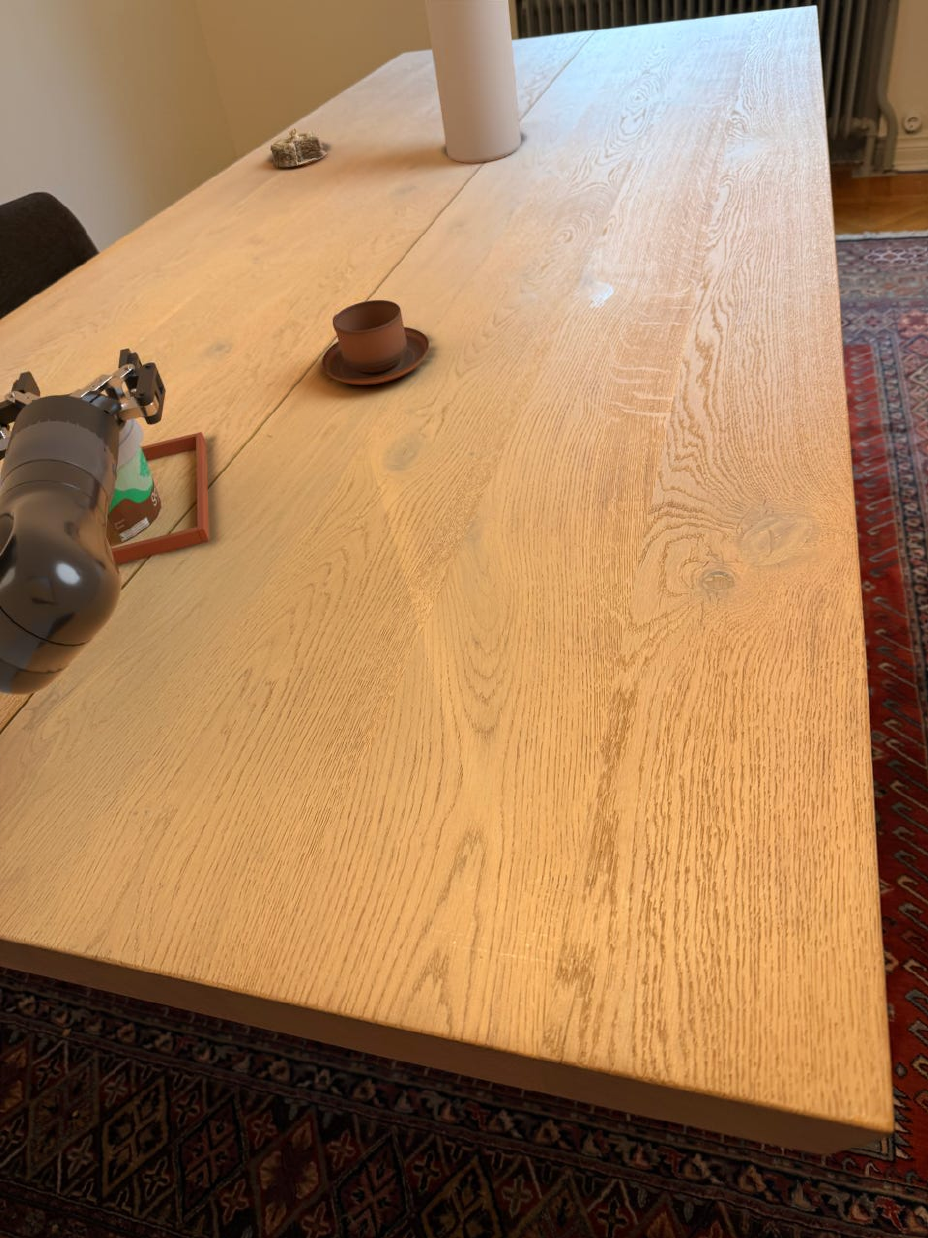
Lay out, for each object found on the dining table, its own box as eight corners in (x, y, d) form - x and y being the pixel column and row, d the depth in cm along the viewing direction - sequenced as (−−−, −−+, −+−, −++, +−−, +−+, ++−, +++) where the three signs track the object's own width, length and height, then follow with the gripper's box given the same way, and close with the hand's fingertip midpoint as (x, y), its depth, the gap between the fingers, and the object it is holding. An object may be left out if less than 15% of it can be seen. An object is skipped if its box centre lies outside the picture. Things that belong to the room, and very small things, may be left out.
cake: (263, 171, 164) (252, 139, 161) (299, 153, 170) (290, 122, 167) (301, 169, 159) (291, 136, 156) (338, 151, 164) (329, 118, 161)
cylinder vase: (485, 135, 159) (465, -38, 142) (537, 143, 151) (522, -38, 134) (432, 158, 154) (405, -19, 137) (483, 168, 146) (460, -18, 129)
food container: (194, 526, 83) (152, 432, 76) (130, 555, 81) (82, 461, 74) (152, 471, 91) (112, 381, 84) (94, 496, 89) (47, 407, 82)
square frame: (65, 588, 80) (53, 566, 78) (82, 484, 92) (71, 463, 91) (213, 550, 81) (203, 528, 79) (209, 452, 93) (201, 431, 91)
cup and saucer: (307, 391, 100) (292, 339, 95) (355, 339, 107) (343, 289, 103) (405, 398, 95) (393, 344, 91) (448, 344, 103) (439, 291, 99)
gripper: (138, 400, 64) (145, 309, 76) (-64, 448, 63) (-25, 349, 75) (175, 487, 69) (177, 389, 81) (-11, 533, 68) (18, 427, 80)
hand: (80, 370), depth 78 cm, fingers open, 8 cm apart
